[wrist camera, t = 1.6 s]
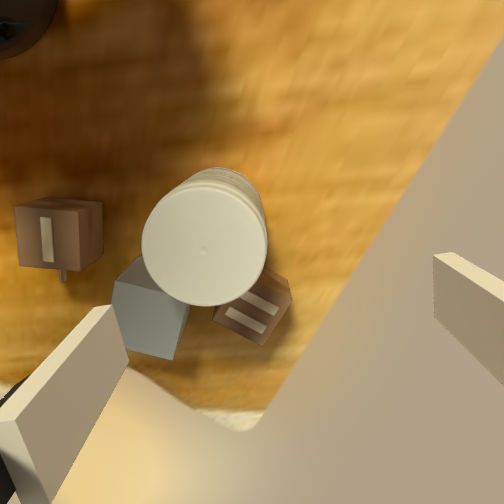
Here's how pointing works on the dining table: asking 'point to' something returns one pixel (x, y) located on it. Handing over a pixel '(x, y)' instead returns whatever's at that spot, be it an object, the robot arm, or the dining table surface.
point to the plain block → (147, 313)
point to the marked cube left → (59, 234)
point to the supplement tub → (207, 238)
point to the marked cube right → (256, 308)
